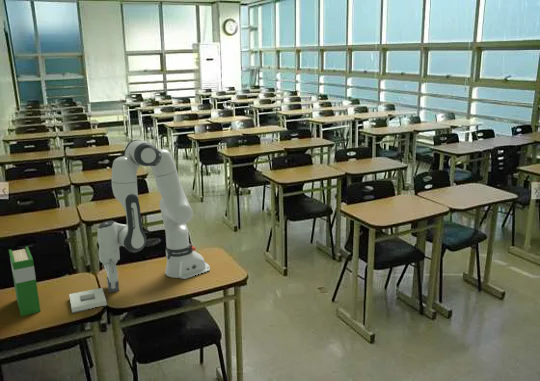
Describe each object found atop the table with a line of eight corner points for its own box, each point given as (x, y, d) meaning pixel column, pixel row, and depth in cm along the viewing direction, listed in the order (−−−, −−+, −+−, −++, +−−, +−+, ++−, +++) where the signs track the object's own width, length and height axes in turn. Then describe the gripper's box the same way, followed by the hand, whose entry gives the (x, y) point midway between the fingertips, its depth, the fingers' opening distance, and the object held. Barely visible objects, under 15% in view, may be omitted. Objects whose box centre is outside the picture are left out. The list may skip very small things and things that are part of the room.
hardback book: (16, 299, 210) (8, 249, 204) (34, 295, 214) (27, 246, 208) (21, 316, 196) (12, 263, 190) (40, 311, 200) (32, 259, 194)
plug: (117, 286, 222) (116, 273, 220) (119, 290, 218) (117, 277, 216) (107, 288, 220) (106, 275, 219) (109, 292, 216) (107, 279, 215)
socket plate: (102, 292, 216) (102, 287, 216) (106, 305, 204) (106, 300, 203) (69, 299, 210) (69, 294, 210) (72, 313, 198) (71, 307, 197)
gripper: (120, 262, 207) (122, 291, 211) (113, 247, 225) (115, 274, 228) (105, 265, 205) (107, 294, 208) (99, 249, 222) (102, 276, 226)
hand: (111, 283), depth 218 cm, fingers open, 8 cm apart
